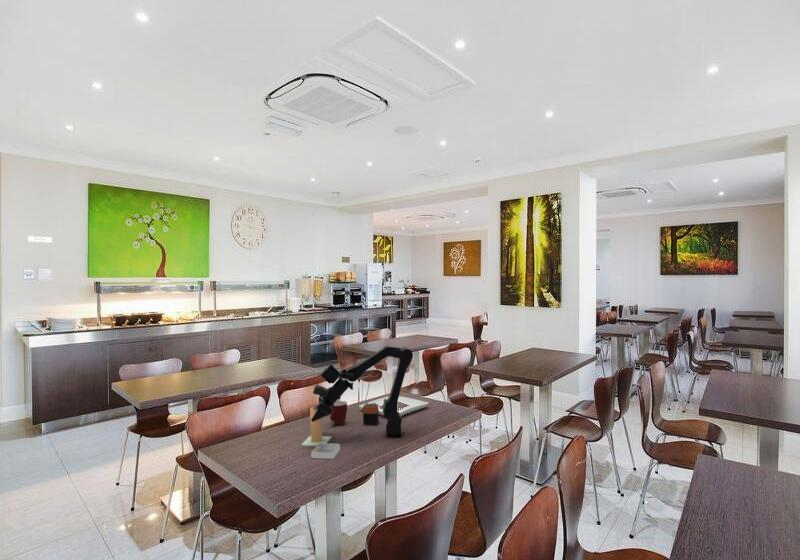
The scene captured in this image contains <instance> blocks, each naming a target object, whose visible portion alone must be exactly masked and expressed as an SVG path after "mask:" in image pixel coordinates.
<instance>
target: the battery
mask: <svg viewBox="0 0 800 560" xmlns="http://www.w3.org/2000/svg"><path fill="white" fill-rule="evenodd" d="M364 404H365V403H364ZM362 416H363V417H362V420H363V425H364V426H378V424H379V423H380V415H379V409H378V404H376V403H372V404H369V403H368V402H366V404H365V405H364V406H363V409H362Z"/></svg>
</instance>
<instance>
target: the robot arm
mask: <svg viewBox="0 0 800 560" xmlns="http://www.w3.org/2000/svg"><path fill="white" fill-rule="evenodd" d="M387 357H393V358H395V359H397V367H396V372H395V374H394V379H393V382H392V385H391V389H390V393H389V395H388V396H387V397H388V399H387V400H386V399H384V403H383V406H382V409H383V413H384V416H383V417H384V418H385V419H386V420H387V421H386V424H385V434H386V437H387V438H402V436H403V433H404V431H403V419H402V416H400V414H399V412H397V409H398V397H399V396H400V394H401V390H402V385H403V382H404V378H405V376H406V372H407V370H408V368H409V367H410V364H411V363H412V361H413V358H414V353H413V351H412V350H411V349H409V347H395V346H389V345H385V346H383V347H382V348H380V350H378V351H376V352H374V353H373V354H372V355H371V356H368V357H367V358H366V359H364V360H363V361H361V362H358V363H355V364H352V365H351V366H348V367H347V368H346V369H342V370H338V369H337V368H336V367H335V366H334V364H332V363H330V364H329V365H328V366H326V368H324V369H323V370H322V371H321V373H320V375H319V376H320V377H321V378H322V379H323V380H325V381H326V382H327V383H328V384H332V386H329V387H328V388H326V387H325V386H322V385H319V384H315V386H314V389H313V391H312V394H314V395H318V403H317V405H316V406H317V408H318V410H317V412H316V413H315V415H314V416H313V418H312V419H311V420H310V422H311V421H312V422H314V421H316V420H318V419H320V418H322V419H323V418H325V417H328V416H330V415H331V413H332V407H333V406H334V403H335V402H336V401H339V400H340V399H341V397H342V395H344V393H345V392H346V391H347V390H348V389H350V390H351V391H353V390H354V382H356V381H358V379H360V378H361V377H362V376H363V375H364V373H365V372H366V371H368V370H369V369H371V368H372V367H374V366H375V365H377V364H379V363H380V362H381V361H383V360H384V359H385V358H387ZM330 405H331V406H330Z"/></svg>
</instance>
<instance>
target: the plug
mask: <svg viewBox="0 0 800 560" xmlns="http://www.w3.org/2000/svg"><path fill="white" fill-rule="evenodd" d="M317 410H318V408H317V405H314V406H312V407H310V408H309V411H310V412H309V415H310V416H309V418H310V419H309V421H310V436H311V441H312V442H320V441H322V436H323V422H322V421H323V420H322V419H323V418H320V419H318V420H316V421H314V422H312V421H311V419H312V418H313V416H314V415H315V413H316V412H317Z"/></svg>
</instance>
